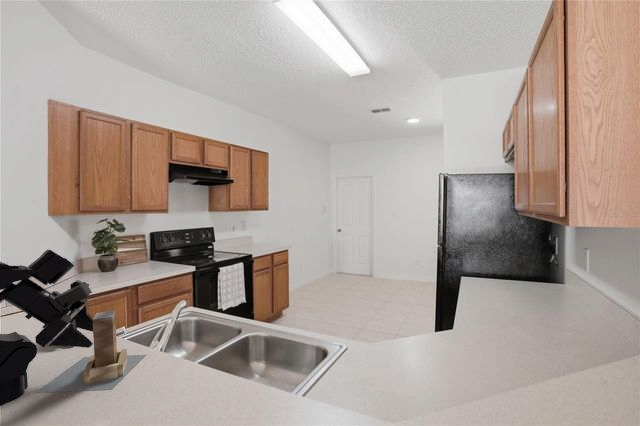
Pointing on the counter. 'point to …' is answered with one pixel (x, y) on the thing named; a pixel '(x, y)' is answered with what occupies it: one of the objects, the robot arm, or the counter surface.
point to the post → (104, 338)
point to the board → (75, 379)
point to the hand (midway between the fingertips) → (95, 337)
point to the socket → (105, 369)
